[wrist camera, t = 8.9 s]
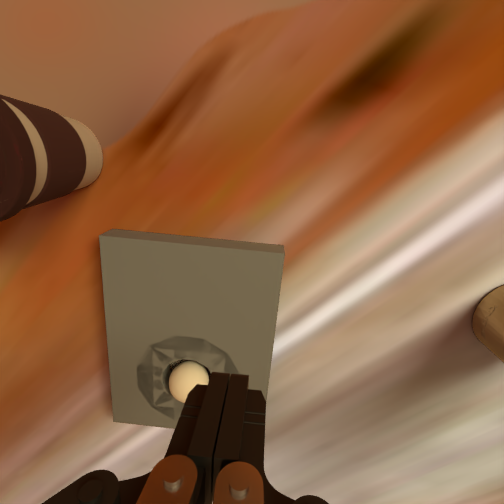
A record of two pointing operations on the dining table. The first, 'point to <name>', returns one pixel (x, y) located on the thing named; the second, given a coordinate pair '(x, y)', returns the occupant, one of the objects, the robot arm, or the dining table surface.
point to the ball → (187, 379)
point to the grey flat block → (184, 315)
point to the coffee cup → (42, 156)
